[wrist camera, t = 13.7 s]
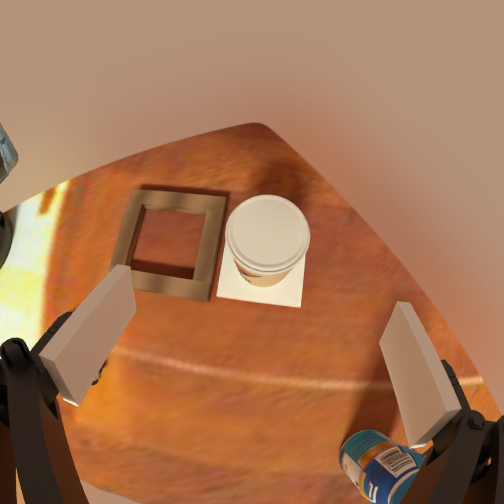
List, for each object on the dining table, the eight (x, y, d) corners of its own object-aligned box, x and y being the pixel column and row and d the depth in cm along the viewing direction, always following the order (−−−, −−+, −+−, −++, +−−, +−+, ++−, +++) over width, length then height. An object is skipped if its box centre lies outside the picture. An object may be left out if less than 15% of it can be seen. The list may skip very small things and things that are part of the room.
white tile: (216, 296, 41) (216, 295, 41) (230, 220, 45) (229, 219, 44) (299, 307, 41) (300, 307, 40) (306, 230, 45) (307, 229, 44)
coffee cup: (222, 244, 43) (213, 207, 32) (280, 224, 44) (290, 182, 33) (244, 302, 40) (242, 285, 29) (305, 279, 42) (325, 254, 30)
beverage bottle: (394, 432, 34) (474, 467, 15) (372, 477, 32) (435, 531, 13) (350, 422, 35) (420, 466, 16) (327, 469, 33) (376, 536, 14)
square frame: (112, 284, 42) (106, 281, 40) (137, 194, 47) (133, 189, 45) (209, 302, 41) (207, 300, 39) (227, 203, 46) (226, 197, 44)
